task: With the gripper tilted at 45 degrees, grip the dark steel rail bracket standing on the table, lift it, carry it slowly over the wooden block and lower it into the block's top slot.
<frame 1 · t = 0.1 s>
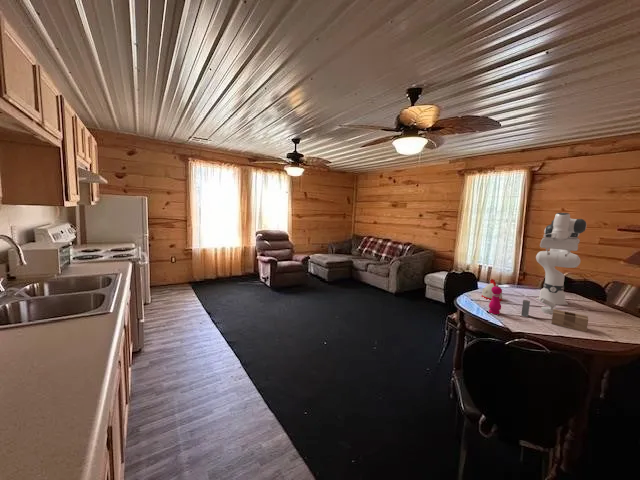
hand: (557, 255, 196), 39 cm above the table, tool pointing down, fingers open, 8 cm apart
rail bracket: (524, 315, 189), on the table
pepper mill: (494, 313, 192), on the table
kitchen timer: (491, 298, 224), on the table
wall hook: (547, 312, 197), on the table
wooden block: (568, 325, 174), on the table
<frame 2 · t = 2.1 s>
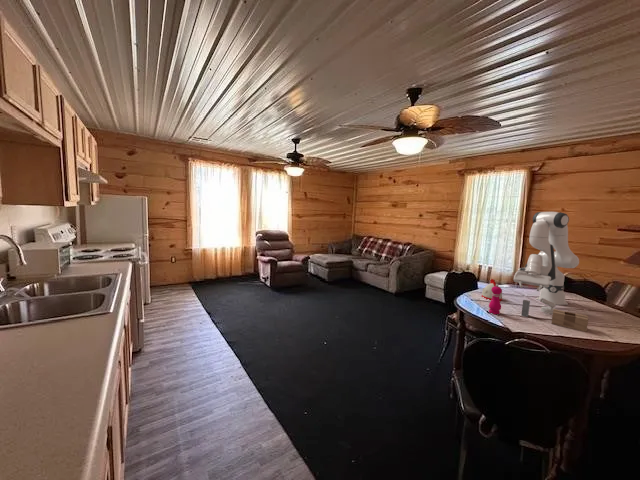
hand: (529, 289, 195), 16 cm above the table, tool tilted 45°, fingers open, 8 cm apart
nothing on the table moved.
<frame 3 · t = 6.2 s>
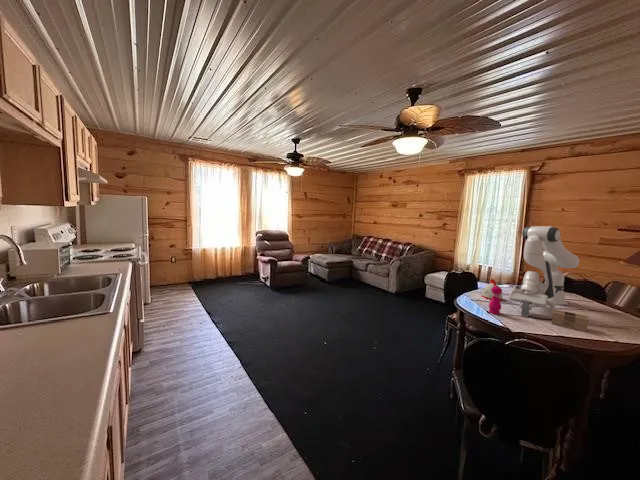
hand: (525, 308, 188), 5 cm above the table, tool tilted 45°, fingers closed on rail bracket, 3 cm apart
rail bracket: (524, 315, 189), on the table, touching gripper
everything else where it was.
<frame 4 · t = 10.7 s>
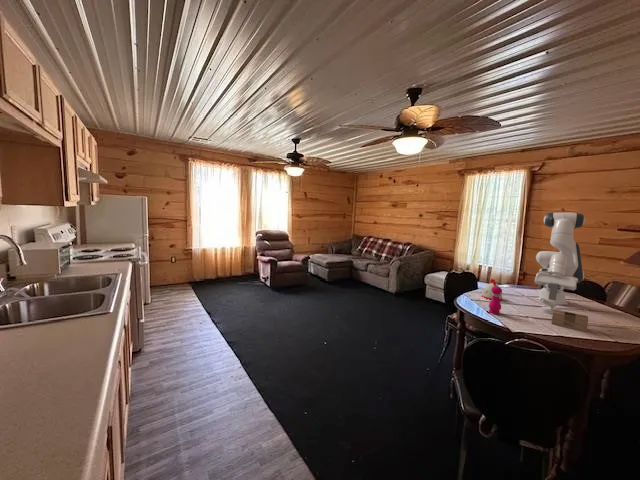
hand: (553, 291, 175), 20 cm above the table, tool tilted 45°, fingers closed on rail bracket, 3 cm apart
rail bracket: (552, 299, 176), point 15 cm above the table, touching gripper
everything else where it was.
when the fingers open (9 cm above the table, at t = 15.2 s): rail bracket drops 3 cm, resting on wooden block.
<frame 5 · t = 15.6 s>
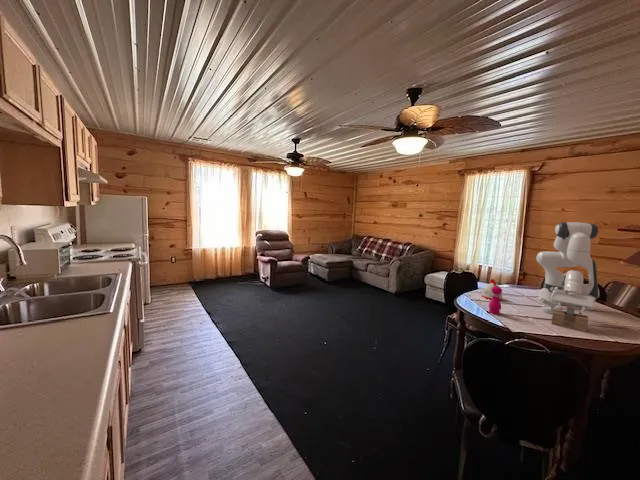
hand: (570, 311, 172), 9 cm above the table, tool tilted 45°, fingers open, 8 cm apart
rail bracket: (568, 324, 174), point 1 cm above the table, touching wooden block
everything else where it was.
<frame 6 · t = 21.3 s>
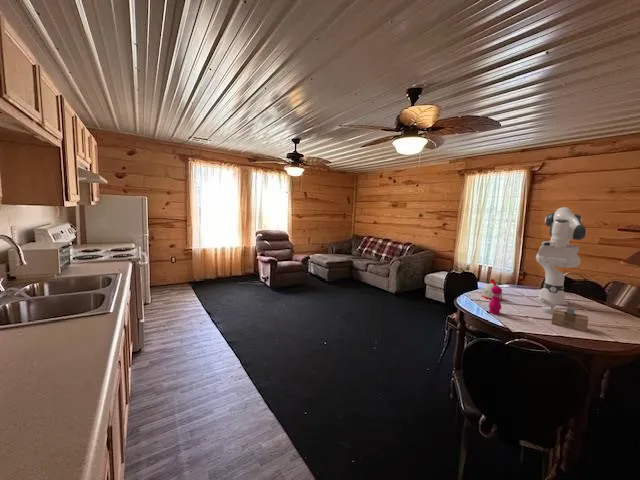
hand: (555, 264, 190), 34 cm above the table, tool pointing down, fingers open, 8 cm apart
nothing on the table moved.
at the end: rail bracket 0.0 cm off-centre on the wooden block, point 1.0 cm above the wooden block's base; rail bracket tilted 0°; the gripper is holding nothing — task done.
